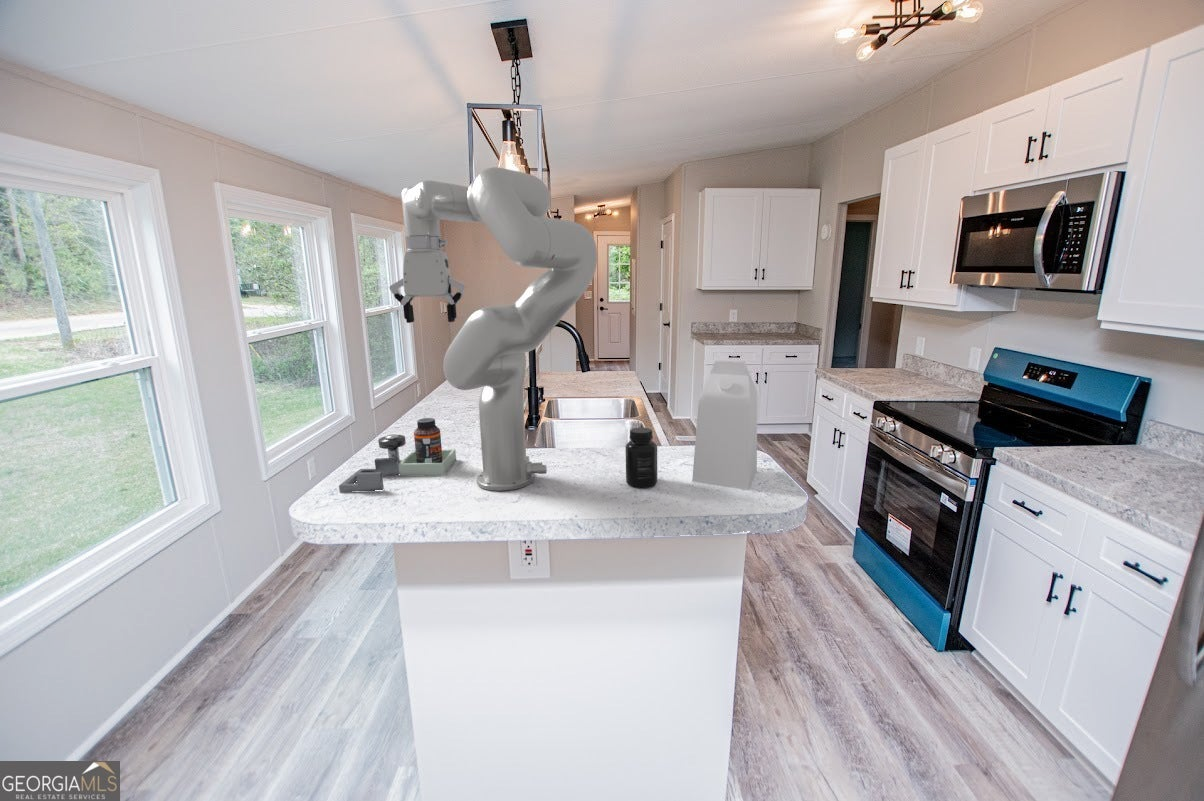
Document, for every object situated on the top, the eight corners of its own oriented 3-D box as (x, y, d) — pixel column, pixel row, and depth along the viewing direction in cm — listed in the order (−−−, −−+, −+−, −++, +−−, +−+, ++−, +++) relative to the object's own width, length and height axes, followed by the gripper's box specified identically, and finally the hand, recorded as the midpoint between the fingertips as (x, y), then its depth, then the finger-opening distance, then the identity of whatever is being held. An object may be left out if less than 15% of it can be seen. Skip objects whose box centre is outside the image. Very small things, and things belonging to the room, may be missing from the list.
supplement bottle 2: (661, 479, 111) (662, 427, 109) (651, 491, 105) (651, 436, 103) (632, 475, 114) (632, 424, 111) (620, 486, 108) (620, 432, 105)
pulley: (411, 461, 126) (408, 432, 124) (402, 469, 120) (399, 439, 118) (387, 461, 126) (384, 432, 124) (377, 470, 120) (373, 440, 118)
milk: (756, 471, 115) (763, 358, 109) (748, 490, 105) (755, 366, 99) (704, 464, 120) (708, 356, 114) (692, 481, 110) (695, 363, 104)
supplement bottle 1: (435, 470, 117) (430, 423, 115) (412, 469, 119) (407, 422, 116) (447, 461, 123) (443, 417, 121) (425, 460, 124) (421, 416, 122)
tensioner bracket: (399, 474, 117) (398, 457, 116) (382, 491, 107) (379, 473, 106) (361, 474, 117) (359, 458, 116) (339, 492, 107) (337, 474, 106)
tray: (456, 460, 126) (455, 449, 125) (444, 475, 116) (443, 463, 115) (415, 460, 126) (414, 450, 125) (399, 475, 116) (398, 464, 115)
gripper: (466, 246, 118) (471, 320, 122) (392, 247, 118) (400, 321, 122) (457, 244, 111) (463, 322, 115) (378, 245, 111) (387, 323, 115)
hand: (431, 322), depth 118 cm, fingers open, 9 cm apart
